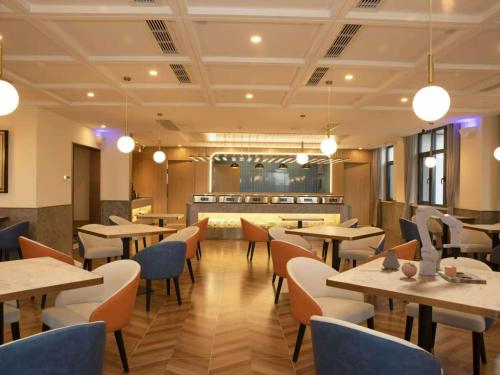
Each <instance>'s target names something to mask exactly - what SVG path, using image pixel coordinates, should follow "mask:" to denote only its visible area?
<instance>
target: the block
mask: <svg viewBox="0 0 500 375" xmlns="http://www.w3.org/2000/svg"><path fill="white" fill-rule="evenodd" d="M444 271H445V274H446V275H448V276H456V272H457V267H456V266H454V265H445V266H444Z"/></svg>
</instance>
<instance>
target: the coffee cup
mask: <svg viewBox="0 0 500 375" xmlns="http://www.w3.org/2000/svg"><path fill="white" fill-rule="evenodd" d="M432 246H433V247H434V248H435V249H436V251H437V252H438V254H439V258H438V259H437V261H436V270H439V269H440V268H441V262H442V256H443V255H442V253H443V248H442V247H443V246H439V245H432Z"/></svg>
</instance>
